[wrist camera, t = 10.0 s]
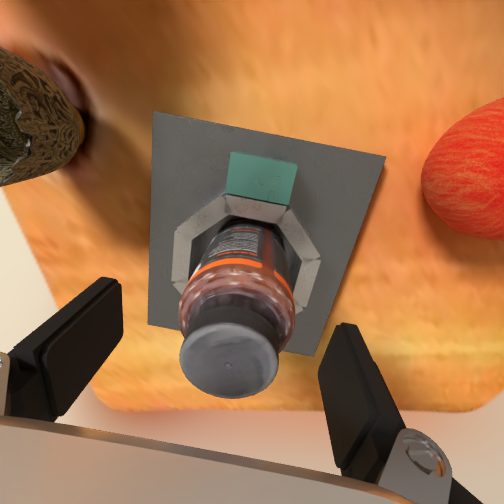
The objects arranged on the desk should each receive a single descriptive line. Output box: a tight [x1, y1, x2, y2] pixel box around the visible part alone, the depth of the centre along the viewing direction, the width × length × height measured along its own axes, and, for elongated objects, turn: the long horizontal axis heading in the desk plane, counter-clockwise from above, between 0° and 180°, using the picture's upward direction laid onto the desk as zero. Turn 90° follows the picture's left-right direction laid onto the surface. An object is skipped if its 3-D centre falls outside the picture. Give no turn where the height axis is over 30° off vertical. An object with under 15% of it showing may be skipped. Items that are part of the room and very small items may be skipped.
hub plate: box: [148, 111, 386, 357], centre depth 20 cm, size 18×16×4 cm
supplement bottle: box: [178, 219, 295, 399], centre depth 15 cm, size 6×6×11 cm
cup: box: [0, 47, 86, 187], centre depth 15 cm, size 8×7×8 cm
